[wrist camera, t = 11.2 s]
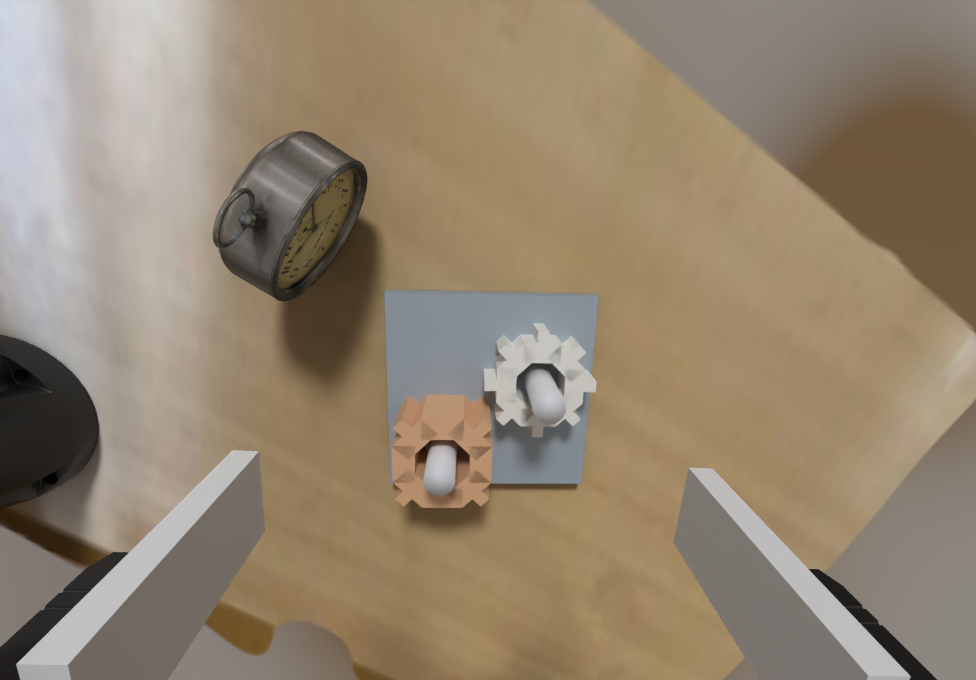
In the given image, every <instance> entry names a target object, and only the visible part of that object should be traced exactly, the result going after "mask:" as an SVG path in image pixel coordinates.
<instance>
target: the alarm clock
mask: <svg viewBox="0 0 976 680" xmlns="http://www.w3.org/2000/svg"><path fill="white" fill-rule="evenodd" d="M366 188H367V172H366V169H365V167H364V165H363V164H362V163H361V162H360V161H357V160H356V159H354V158H352V157H350V156H349V155H347V154H346V153H344V152H343V151H341V150H340V149H338V148H337V147H335V146H333V145H332V144H330V143H329V142H327V141H326V140H324V139H323V138H321V137H319V136H318V135H316V134H314V133H311V132H305V131H298V132H292V133H289V134H286V135H284V136H281V137H279V138H277V139H276V140H274V141H273V142H271V143H270V144H268V145H267V146H266V147H265V148H263V149H262V150H261V151H260V152H259V153H258V154H257V155H256V156H255V157H254V158H253V159H252V160H251V162H250V163H249V164H248V165H247V166H246V168H245V169H244V170H243V172H242V173H241V175H240V176H239V178H238V179H237V181H236V183H235V185H234V186H233V188H232V190H231V192H230V194H229V196H228V198H227V199H226V200H225V201H224V203H223V205H222V206H221V208H220V210H219V212H218V215H217V217H216V220H215V224H214V228H213V241H214V243H215V245H216V246H217V247H218V248H219V252H220V255H221V258H222V260H223V262H224V264H225V265H226V267H227V268H228V269H229V270H230V271H231V272H232V273H233V274H235V275H236V276H238V277H240V278H241V279H243V280H245V281H246V282H248V283H250V284H252V285H253V286H255V287H257V288H259V289H260V290H262V291H264V292H265V293H267V294H269V295H271V296H272V297H274V298H276V299H277V300H279V301H289V300H291V299H294V298H296V297H298V296H299V295H301V294H302V293H303V292H305V291H306V290H307V289H308V288H309V287H311V286H312V285H313V284H314V283H315V282H316V281H317V279H318V278H319V277H320V276H321V275H322V274H323V273H324V272H325V270H326V269H327V267H328V266H329V265H330V264H331V262H332V261H333V260H334V258H335V257H336V255H337V254H338V252H339V251H340V249H341V248H342V246H343V244H344V243H345V241H346V239H347V237H348V236H349V234H350V232H351V230H352V228H353V226H354V224H355V222H356V219H357V217H358V214H359V212H360V209H361V206H362V204H363V200H364V196H365V192H366Z"/></svg>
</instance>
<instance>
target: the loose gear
mask: <svg viewBox="0 0 976 680" xmlns="http://www.w3.org/2000/svg"><path fill="white" fill-rule="evenodd" d="M393 429H394V430H395V431H396V435H395V438H394V440H393V443H392V473H393V483H394V484H395V485H396V486H397V487H398V489H397V493H396V496H395V500H396V501H397V502H399V503H400V504H401V505H402V506H403V507H404V506H405V505H406V504H407V503H408V502H409V501H411V500H414V501H415V502H416V503H417V504H418V505H420V506H421V507H422V508H463V507H464V506H465V505H466V504H467V503H469V502H470V501H471V500H472V499H473V500H474V501H475V502H476V503H477V504H478V505H479V506H482V505H483V504H484V503H486V502H487V501H488V500H489V485H490V484H491V479H492V449H493V446H492V435H491V429H492V427H491V417H490V407H489V403H488V402H487V401H486V400H485V399H484V398H483V397H482V396H481V397H480V398H479V399H478V400H477V401H476V402H475V403H472V402H471V401H470V400H469V399H468V398H467V397H466V396H465V395H426V396H425V397H424V398H423V399H422V400H421V401H419V402H418V403H417V402H416V401H415V400H414V399H413V398H412V397H411V396H409V397H408V398H407V399H405V400H404V401H403V402H402V404H401V406H400V409H399V412H398V415H397V417H396V420H395V423H394V426H393ZM430 440H454V441H455V442H456V443H458V444H459V445H460V446H461V447H462V448H463V449H464V450H463V451H462V452H461V453H460V454H459V455H457V457H456V475H455V486H454V488H453V489H452V491H451V492H449V493H448V494H446V495H442V496H436V495H432V494H430V493H429V492H428V491H427V490H426V489H425V488H424V485H423V478H424V472H425V467H426V461H427V455H428V450H427V449H426V448H425V447H424V446H425V445H426V444H427V443H428V442H429V441H430Z"/></svg>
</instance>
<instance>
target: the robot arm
mask: <svg viewBox="0 0 976 680" xmlns="http://www.w3.org/2000/svg"><path fill="white" fill-rule="evenodd" d="M96 440H97V421H96V416H95V412H94V409H93V406H92V403H91V401H90V399H89V397H88V395H87V393H86V391H85V390H84V388H83V386H82V385H81V384H80V382H79V381H78V380H77V378H76V377H75V376H74V375H73V374H72V373H71V372H70V371H69V370H68V369H67V368H66V367H65V366H64V365H63V364H62V363H61V362H59V361H58V360H57V359H56V358H54V357H53V356H51V355H50V354H48V353H47V352H45V351H43V350H42V349H40V348H38V347H36V346H34V345H32V344H29V343H27V342H24V341H22V340H19V339H16V338H12V337H8V336H3V335H0V509H2V508H5V507H8V506H12V505H15V504H18V503H21V502H25V501H28V500H31V499H34V498H37V497H39V496H42V495H44V494H46V493H48V492H50V491H52V490H53V489H55V488H57V487H58V486H60V485H61V484H63V483H64V482H66V481H67V480H69V479H70V478H72V477H73V476H75V475H76V474H77V473H78V472H80V471H81V470H82V469H83V468H84V466H85V465H86V464H87V463H88V461H89V459H90V458H91V456H92V454H93V451H94V448H95V445H96ZM264 531H265V523H264V510H263V496H262V483H261V470H260V457H259V451H236V450H232V451H231V452H230V453H229V454H228V455H227V456H226V457H225V458H224V459H223V460H222V461H221V462H220V463H219V464H218V465H217V466H216V467H215V468H214V469H213V470H212V471H211V472H210V473H209V474H208V475H207V476H206V477H205V478H204V479H203V480H202V481H201V482H200V483H199V484H198V485H197V486H196V487H195V488H194V489H193V490H192V491H191V492H190V493H189V494H188V495H187V496H186V497H185V498H184V499H183V500H182V501H181V502H180V503H179V504H178V505H177V506H176V507H175V508H174V509H173V510H172V511H171V512H170V513H169V514H168V515H167V516H166V517H165V518H164V519H163V520H162V521H161V522H160V523H159V524H158V525H157V526H156V527H155V528H154V529H153V530H152V531H151V532H150V533H148V534H147V535H146V536H145V537H144V538H143V539H142V540H141V541H140V542H139V543H138V544H137V545H136V546H135V547H134V548H133V549H132V550H131V551H130V552H129V553H127V552H113V553H111V554H110V555H108V556H106V557H105V558H103V559H101V560H100V561H98V562H96V563H95V564H93V565H91V566H90V567H88V568H86V569H85V570H84V571H83V572H82V573H81V574H80V575H78V576H77V577H76V578H75V579H74V580H73V581H72V582H71V583H70V584H69V585H68V586H67V587H65V589H64V591H63V593H59V594H58V595H57V596H56V597H55V598H53V599H52V600H51V601H50V602H49V603H48V604H47V605H46V606H45V609H44V610H42V611H40V612H38V613H37V614H36V615H35V616H34V617H33V618H32V619H31V620H30V621H28V622H27V623H26V624H25V625H24V626H23V627H22V628H21V629H20V630H19V631H18V632H16V633H15V634H14V635H13V636H12V637H11V638H10V639H9V640H8V641H7V642H6V643H4V644H3V645H2V646H1V647H0V680H168V678H169V677H170V675H171V674H172V672H173V670H174V669H175V668H176V666H177V665H178V663H179V662H180V660H181V658H182V657H183V655H184V654H185V652H186V651H187V649H188V648H189V646H190V645H191V643H192V642H193V640H194V639H195V637H196V635H197V634H198V632H199V631H200V629H201V628H202V626H203V625H204V623H205V622H206V620H207V619H208V617H209V616H210V614H211V613H212V611H213V609H214V608H215V606H216V605H217V603H218V602H219V600H220V599H221V597H222V596H223V594H224V593H225V591H226V590H227V588H228V586H229V585H230V583H231V582H232V580H233V579H234V577H235V576H236V574H237V573H238V571H239V570H240V568H241V567H242V565H243V563H244V562H245V560H246V559H247V557H248V556H249V554H250V553H251V551H252V550H253V548H254V547H255V545H256V544H257V542H258V540H259V539H260V537H261V536H262V534H263V533H264ZM674 544H675V546H676V547H677V549H678V550H679V552H680V554H681V555H682V557H683V558H684V560H685V562H686V563H687V565H688V566H689V568H690V570H691V571H692V573H693V575H694V576H695V578H696V579H697V581H698V583H699V584H700V586H701V587H702V589H703V591H704V592H705V594H706V595H707V597H708V599H709V600H710V602H711V604H712V605H713V607H714V608H715V610H716V612H717V613H718V615H719V616H720V618H721V620H722V621H723V623H724V624H725V626H726V628H727V629H728V631H729V633H730V634H731V636H732V637H733V639H734V641H735V642H736V644H737V645H738V647H739V649H740V650H741V652H742V653H743V655H744V657H745V658H746V660H747V662H748V663H749V665H750V666H751V668H752V670H753V671H754V673H755V674H756V676H757V678H758V679H759V680H937V679H936V678H935V677H934V676H933V675H932V674H931V673H930V672H929V671H928V670H926V668H925V667H924V666H923V665H922V664H921V663H920V662H919V661H918V660H917V659H916V658H915V657H914V656H912V654H911V653H910V652H909V651H908V650H907V649H906V648H905V647H904V646H903V645H902V644H901V643H900V642H899V641H898V640H897V639H896V638H895V637H893V635H891V633H889V631H887V629H886V628H885V627H884V626H881V625H879V623H878V621H877V619H875V617H874V616H872V614H871V613H870V612H868V611H867V610H866V609H863V608H862V605H861V604H860V603H859V602H858V601H857V600H856V599H855V598H854V597H853V596H852V595H851V594H850V593H849V592H848V591H847V590H846V589H845V588H844V587H843V586H842V585H841V584H839V583H838V582H836V581H835V580H833V579H832V578H830V577H829V576H827V575H826V574H825V573H823V572H822V571H820V570H819V569H808V568H807V567H806V566H805V565H804V564H803V563H802V562H801V561H800V560H799V559H798V558H797V557H796V556H795V555H794V554H793V553H792V552H791V551H790V549H789V548H788V547H787V546H786V545H785V544H784V543H783V542H782V541H781V540H780V539H779V538H778V537H777V536H776V535H775V534H774V533H773V532H772V531H771V530H770V529H769V527H768V526H767V525H766V524H765V523H764V522H763V521H762V520H761V519H760V518H759V517H758V516H757V515H756V514H755V513H754V512H753V511H752V510H751V509H750V508H749V507H748V505H747V504H746V503H745V502H744V501H743V500H742V499H741V498H740V497H739V496H738V495H737V494H736V493H735V492H734V491H733V490H732V489H731V488H730V487H729V486H728V484H727V483H726V482H725V481H724V480H723V479H722V478H721V477H720V476H719V475H718V474H717V473H716V472H715V471H714V470H713V469H706V468H689V469H688V474H687V479H686V483H685V488H684V493H683V498H682V503H681V508H680V513H679V518H678V523H677V528H676V533H675V537H674Z"/></svg>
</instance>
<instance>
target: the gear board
mask: <svg viewBox="0 0 976 680" xmlns="http://www.w3.org/2000/svg"><path fill="white" fill-rule="evenodd" d="M384 298H385V327H386V357H387V386H388V415H389V445H390V474H391V483H393V473H392V443H393V440H394V438H395V435H396V431H395V430H394V429H393V426H394V423H395V420H396V417H397V415H398V412H399V409H400V406H401V404H402V402H403V401H404V400H405V399H407V398H408V397H409V396H411V397H412V398H413V399H414V400H415V401H416V402H417V403H418V402H419V401H421V400H422V399H423V398H424V397H425V396H426V395H465V396H466V397H467V398H468V399H469V400H470V401H471V402H472V403H475V402H476V401H477V400H478V399H479V398H480V397H481V396H482V397H483V398H484V399H485V400H486V401H487V402H488V403H489V407H490V417H491V427H492V429H491V435H492V446H493V449H492V479H491V484H581V482H582V471H583V460H584V449H585V439H586V428H587V417H588V406H589V395H590V392H596V381H595V379H594V378H593V377H592V375H591V374H592V363H593V352H594V341H595V331H596V320H597V309H598V298H599V297H598V296H597V295H595V294H577V293H528V292H479V291H430V290H387V291H385V292H384ZM424 447H425V448H426V449H427V450H428V455H427V461H426V467H425V472H424V478H423V485H424V488H425V489H426V490H427V491H428V492H429V493H430V494H432V495H436V496H442V495H446V494H448V493H449V492H451V491H452V489H453V488H454V486H455V475H456V457H457V455H459V454H460V453H461V452H462V451H463V450H464V449H463V448H462V447H461V446H460V445H459V444H458V443H456V442H455V441H454V440H430V441H429V442H428V443H427V444H426V445H425V446H424Z"/></svg>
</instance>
